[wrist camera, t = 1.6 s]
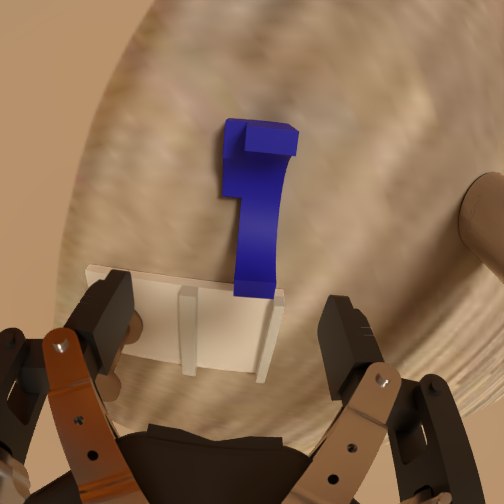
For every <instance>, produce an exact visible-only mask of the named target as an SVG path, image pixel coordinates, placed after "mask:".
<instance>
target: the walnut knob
mask: <svg viewBox="0 0 504 504" xmlns="http://www.w3.org/2000/svg"><path fill="white" fill-rule="evenodd" d="M142 330H143V322H142V319H141V317H140V315H139V314H138V313H137V311H136V310H135V309H134V312H133V316H132V318H131V320H130V323H129V325H128V327H127V329H126V332H125V334H124V336H123V339H122V341H121V344H120V346H119V348H118V351H117V353H116V356H115V358H114V361H113V363H112V366H111V368H110V371H109V373H108V376H106V375H102V374H98V375H97V377H96V380H95V382H96V384H97V387H98V389H99V392H100V395H101V397H102V399H103V401H106V402H110V401H114V400H116V399H117V398H118V396H119V393H120V390H121V382H120V380H119V378H118V377H117V376H116V374H115V373H114V370H115V367H116V365H117V362H118V360H119V357H120V355H121V352H122V350H123V348H124V345H128V344H133V343H135V342H136V341H138V340H139V338H140V336H141V333H142Z"/></svg>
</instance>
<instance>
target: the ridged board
mask: <svg viewBox="0 0 504 504" xmlns="http://www.w3.org/2000/svg"><path fill="white" fill-rule="evenodd" d="M112 269H117V270H124V271H129V272H130V273H131V277H132V286H133V294H134V302H135V305H134V309H135V310H136V311H137V313H138V314H139V315H140V317H141V319H142V322H143V330H142V333H141V336H140V338H139V340H138V341H136V342H135V343H133V344H128V345H124V348H123V350H122V352H121V353H123V354H128V355H133V356H137V357H142V358H148V359H153V360H158V361H164V362H170V363H176V364H182V371H183V375H190V376H196V370H197V367H204V368H212V369H220V370H229V371H239V372H251V373H256V383H264V382H265V379H266V376H267V372H268V369H269V365H270V362H271V358H272V355H273V351H274V348H275V344H276V340H277V337H278V333H279V329H280V326H281V322H282V318H283V315H284V311H285V300H284V292H283V289H275V294H274V299H261V298H248V297H236V296H233V290H234V284H231V283H222V282H214V281H206V280H198V279H190V278H182V277H175V276H167V275H160V274H153V273H146V272H139V271H132V270H125V269H118V268H112V267H105V266H99V265H93V264H89V266H88V267H87V268H86V269H85V274H86V279H87V283H88V288H89V287H90V286H91V285H92V284H93V283H95V282H96V281H98V280H99V279H101V280H105V278H106V276H107V275H108V274H109V272H110V271H111V270H112Z"/></svg>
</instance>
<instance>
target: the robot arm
mask: <svg viewBox="0 0 504 504" xmlns="http://www.w3.org/2000/svg"><path fill="white" fill-rule="evenodd" d="M459 232H460V236H461V239H462V241H463V243H464V244H465V245H466V246H467V247H468V248H469V249H470V250H471V251H472V252H473V253H474V254H475V255H476V256H477V257H478V258H479V259H480V260H481V261H482V262H483V263H484V264H485V265H486V266H487V267H488V268H489V269H490V270H491V271H492V272H493V273H494V274H495V275H496V276H497V277H498V278H499V279H500V280H501V281H502V283H503V284H504V176H503V175H501V174H499V173H495V172H491V173H486V174H485V175H483V176H481V177H480V178H479V179H477V180H476V181H475V182H474V183H473V185H472V186H471V187H470V189H469V190H468V192H467V194H466V196H465V198H464V201H463V203H462V206H461V210H460V215H459ZM134 305H135V302H134V294H133V286H132V277H131V273H130V272H129V271H124V270H117V269H112V270H111V271H110V272H109V274H108V275H107V276H106V278H105V280H101V279H99V280H98V281H96V282H95V283H93V284H92V285H91V286H90V287H89V288H88V290H87V291H86V293H85V294H84V296H83V297H82V299H81V300H80V303H78V305H77V306H76V308H75V309H74V311H73V313H72V314H71V316H70V317H69V319H68V320H67V322H66V324H65V325H64V327H62V328H56V329H53V330H51V331H50V332H49V333H47V334H46V336H45V337H44V339H26V338H25V336H24V334H23V332H22V331H21V330H19V329H17V328H8V329H5V330H3V331H2V332H0V504H360V503H359V502H357V501H356V500H355V499H354V498H353V497H354V495H355V494H356V492H357V490H358V488H359V487H360V485H361V483H362V481H363V480H364V478H365V476H366V474H367V472H368V470H369V468H370V466H371V465H372V463H373V460H374V459H375V457H376V455H377V452H378V450H379V448H380V446H381V444H382V442H383V440H384V437H385V435H386V433H387V431H388V436H389V441H390V445H391V450H392V455H393V461H394V466H395V471H396V478H397V483H398V490H399V496H400V504H485V499H484V494H483V490H482V486H481V482H480V478H479V474H478V470H477V467H476V463H475V460H474V456H473V453H472V450H471V447H470V444H469V440H468V437H467V434H466V431H465V428H464V426H463V423H462V420H461V417H460V414H459V412H458V409H457V406H456V404H455V401H454V399H453V396H452V394H451V391H450V389H449V386H448V384H447V383H446V381H445V380H444V379H443V378H441V377H440V376H438V375H435V374H427V375H425V376H424V377H423V378H422V379H421V380H420V381H419V382H417V381H412V380H407V379H403V378H401V376H400V374H399V372H398V371H397V370H396V369H395V368H394V367H393V366H391V365H389V364H387V363H385V362H384V360H383V357H382V355H381V352H380V350H379V347H378V345H377V342H376V340H375V337H374V336H373V332H372V330H371V329H370V325H369V323H368V321H367V318H366V317H365V316H364V315H363V314H362V312H361V311H360V310H359V309H354V308H353V306H352V303H351V301H350V299H349V297H348V296H340V295H330V296H329V297H328V299H327V302H326V304H325V307H324V310H323V313H322V315H321V318H320V321H319V324H318V340H319V344H320V348H321V353H322V357H323V362H324V366H325V371H326V376H327V380H328V385H329V390H330V395H331V399H332V401H333V400H342V404H343V406H342V407H341V409H340V410H339V412H338V414H337V415H336V417H335V418H334V420H333V421H332V423H331V425H330V426H329V428H328V429H327V431H326V432H325V434H324V435H323V437H322V438H321V440H320V441H319V442H318V444H317V445H316V446H315V448H314V449H313V450H312V452H311V453H310V454H309V455H308V456H307V455H305V454H304V453H302V452H300V451H298V450H296V449H293V448H290V447H287V446H283V443H282V437H252V436H249V437H243V438H236V439H230V440H222V441H212V440H209V439H206V438H203V437H200V436H197V435H195V434H192V433H189V432H186V431H184V430H181V429H176V428H170V427H164V426H159V425H154V424H149V425H148V429H147V431H143V432H135V433H131V434H127V435H125V436H122V437H120V436H119V434H118V432H117V430H116V428H115V427H114V425H113V422H112V420H111V418H110V416H109V414H108V411H107V409H106V407H105V404H104V402H103V399H102V397H101V395H100V392H99V389H98V387H97V384H96V382H95V380H96V377H97V375H98V374H102V375H106V376H108V373H109V371H110V368H111V366H112V363H113V361H114V358H115V356H116V353H117V351H118V348H119V346H120V344H121V341H122V339H123V336H124V334H125V332H126V329H127V327H128V325H129V323H130V320H131V318H132V316H133V312H134ZM14 381H16V382H15V384H14ZM13 384H14V387H13V389H12V391H11V393H10V396H9V398H8V394H9V392H10V390H11V388H12V385H13ZM47 395H48V400H49V404H50V408H51V411H52V415H53V419H54V422H55V425H56V429H57V432H58V435H59V438H60V441H61V444H62V447H63V450H64V453H65V455H66V458H67V461H68V463H69V466H70V469H71V470H70V471H68V472H67V473H65V474H64V475H62V476H61V477H59V478H57V479H56V480H54V481H52V482H51V483H49V484H47V485H46V486H44V487H43V488H41V489H39V490H38V491H36V492H34V493H32V494H30V492H29V488H30V481H29V476H28V472H27V470H26V468H25V467H24V463H25V459H26V455H27V452H28V448H29V445H30V442H31V439H32V436H33V433H34V430H35V427H36V423H37V421H38V418H39V415H40V412H41V409H42V407H43V404H44V401H45V399H46V396H47ZM7 398H8V400H7ZM421 425H423V428H424V431H425V435H426V438H427V445H426V441H425V438H424V434H423V430H422V427H421Z"/></svg>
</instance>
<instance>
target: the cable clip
mask: <svg viewBox="0 0 504 504" xmlns="http://www.w3.org/2000/svg"><path fill="white" fill-rule="evenodd" d="M298 135H299V131H298V130H296V129H295V128H293V127H292V126H291V125H289V124H286V123H278V122H269V121H259V120H247V119H234V118H229V119H227V120H226V121H225V134H224V148H223V191H222V196H225V197H237V198H242V199H241V211H240V222H239V234H238V245H237V256H236V267H235V277H234V290H233V296H236V297H248V298H261V299H274V294H275V289H276V240H277V227H278V216H279V207H280V200H281V193H282V187H283V182H284V177H285V172H286V168H287V165H288V162H289V160H290V158H291V156H296V151H297V143H298Z"/></svg>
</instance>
